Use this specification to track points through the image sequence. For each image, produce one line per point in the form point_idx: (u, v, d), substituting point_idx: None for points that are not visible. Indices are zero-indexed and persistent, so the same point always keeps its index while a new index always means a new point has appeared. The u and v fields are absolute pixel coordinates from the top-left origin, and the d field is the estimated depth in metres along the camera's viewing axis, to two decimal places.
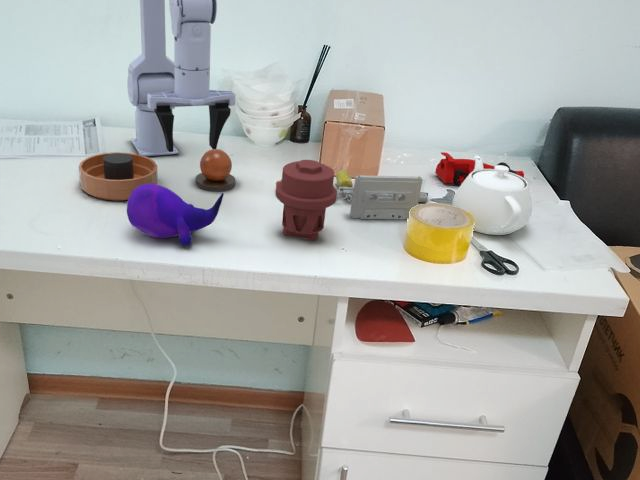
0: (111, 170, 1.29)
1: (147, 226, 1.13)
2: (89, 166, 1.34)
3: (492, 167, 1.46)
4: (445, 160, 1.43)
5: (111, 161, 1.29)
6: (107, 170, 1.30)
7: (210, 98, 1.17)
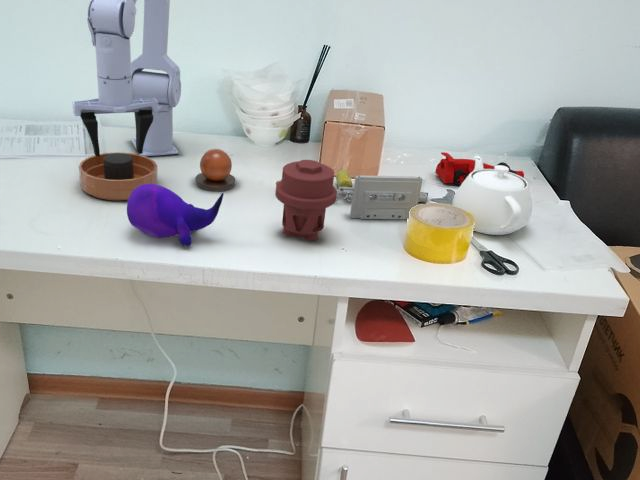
0: (111, 170, 1.29)
1: (147, 226, 1.13)
2: (89, 166, 1.34)
3: (492, 167, 1.46)
4: (445, 160, 1.43)
5: (111, 161, 1.29)
6: (107, 170, 1.30)
7: (132, 105, 1.24)
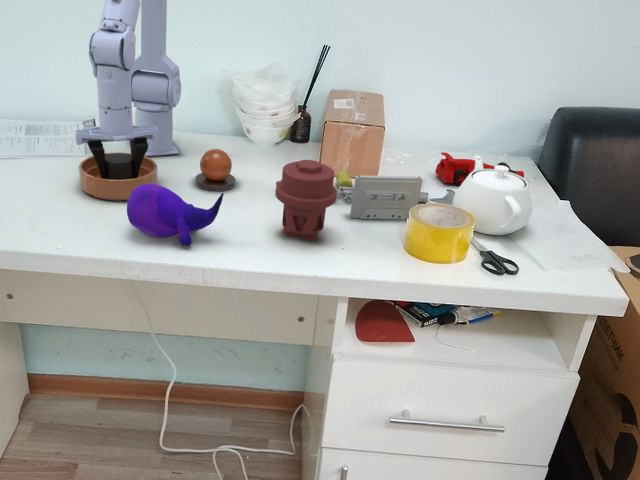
0: (111, 170, 1.29)
1: (147, 226, 1.13)
2: (89, 166, 1.34)
3: (492, 167, 1.46)
4: (445, 160, 1.43)
5: (111, 161, 1.29)
6: (107, 170, 1.30)
7: (133, 134, 1.27)
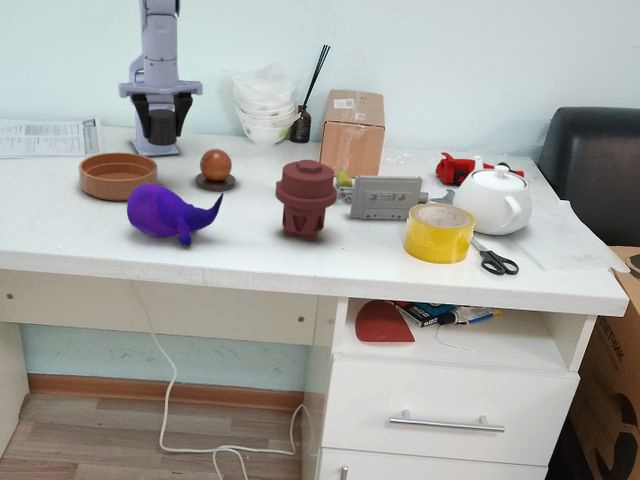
0: (155, 125, 1.26)
1: (147, 226, 1.13)
2: (89, 166, 1.34)
3: (492, 167, 1.46)
4: (445, 160, 1.43)
5: (155, 116, 1.26)
6: (151, 125, 1.27)
7: (178, 87, 1.24)
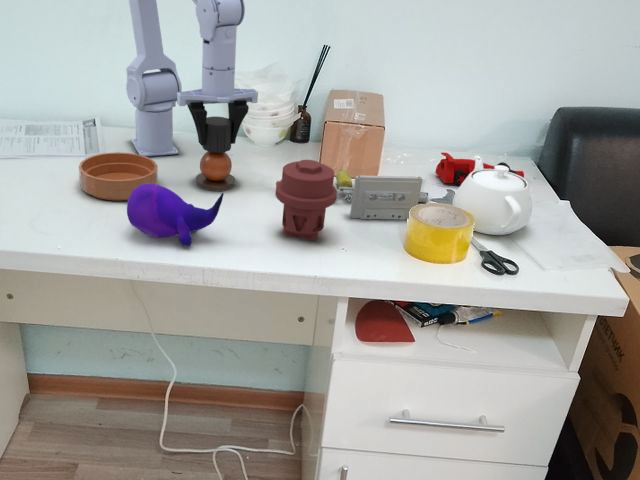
0: (211, 133, 1.29)
1: (147, 226, 1.13)
2: (89, 166, 1.34)
3: (492, 167, 1.46)
4: (445, 160, 1.43)
5: (212, 123, 1.29)
6: (207, 133, 1.30)
7: (235, 96, 1.27)
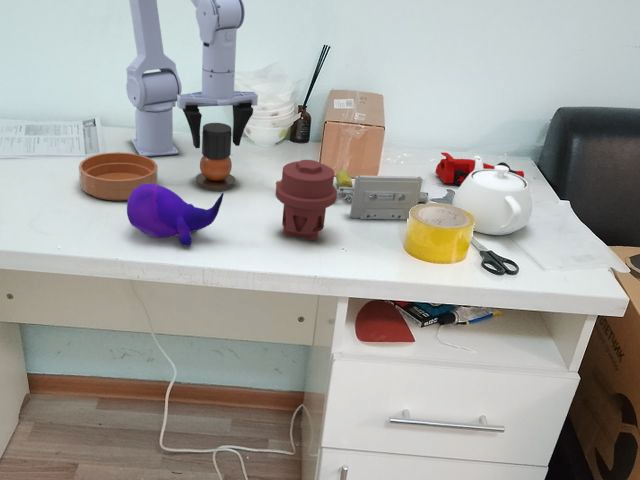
0: (211, 139, 1.30)
1: (147, 226, 1.13)
2: (89, 166, 1.34)
3: (492, 167, 1.46)
4: (445, 160, 1.43)
5: (211, 130, 1.30)
6: (207, 139, 1.31)
7: (235, 98, 1.27)
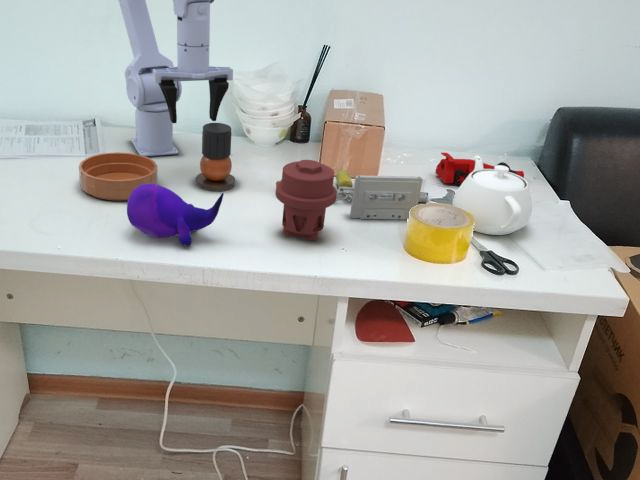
0: (211, 139, 1.30)
1: (147, 226, 1.13)
2: (89, 166, 1.34)
3: (492, 167, 1.46)
4: (445, 160, 1.43)
5: (211, 130, 1.30)
6: (207, 139, 1.31)
7: (210, 73, 1.29)
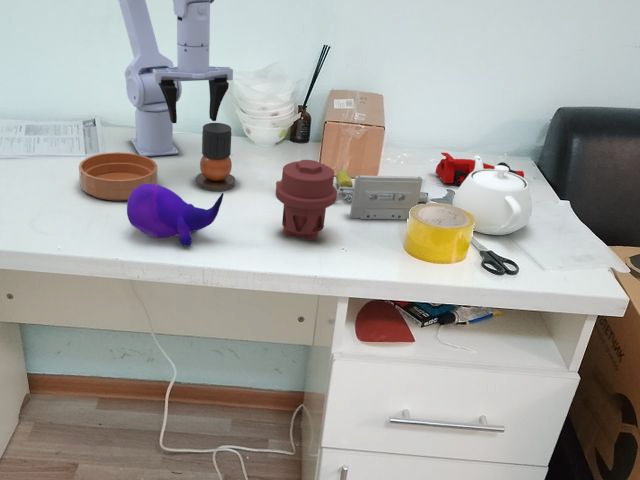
0: (211, 139, 1.30)
1: (147, 226, 1.13)
2: (89, 166, 1.34)
3: (492, 167, 1.46)
4: (445, 160, 1.43)
5: (211, 130, 1.30)
6: (207, 139, 1.31)
7: (210, 73, 1.29)
